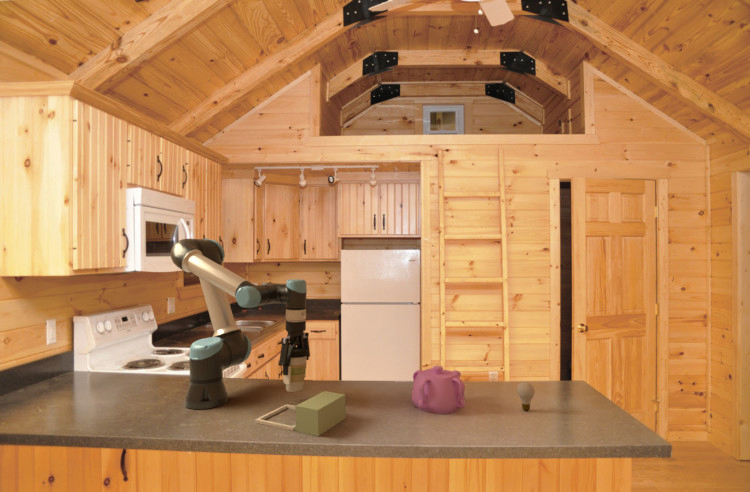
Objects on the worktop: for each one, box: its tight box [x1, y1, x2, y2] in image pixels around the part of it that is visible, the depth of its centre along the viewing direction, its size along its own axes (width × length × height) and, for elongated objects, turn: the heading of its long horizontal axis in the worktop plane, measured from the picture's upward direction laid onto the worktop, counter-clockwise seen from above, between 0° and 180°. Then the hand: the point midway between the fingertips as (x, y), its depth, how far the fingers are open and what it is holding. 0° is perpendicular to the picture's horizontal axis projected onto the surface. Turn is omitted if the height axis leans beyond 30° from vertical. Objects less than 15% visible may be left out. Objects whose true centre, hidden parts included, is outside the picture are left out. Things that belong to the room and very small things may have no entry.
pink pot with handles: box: [411, 365, 466, 415], centre depth 163 cm, size 19×21×14 cm
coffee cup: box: [285, 346, 308, 393], centre depth 168 cm, size 10×10×15 cm
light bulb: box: [516, 381, 536, 412], centre depth 156 cm, size 6×6×10 cm
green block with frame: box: [254, 390, 347, 437], centre depth 149 cm, size 25×16×8 cm, turn 63°
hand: (294, 380), depth 168 cm, fingers closed on coffee cup, 9 cm apart
